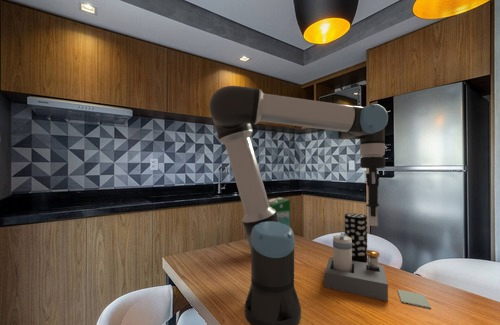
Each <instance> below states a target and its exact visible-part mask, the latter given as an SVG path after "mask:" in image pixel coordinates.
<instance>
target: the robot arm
mask: <svg viewBox="0 0 500 325" xmlns="http://www.w3.org/2000/svg"><path fill="white" fill-rule="evenodd" d="M208 104H209V105H208V107H209V114H210V116H211V120H212V122H213V125H214V129H215V132H216V135H217V138H218V141H219V142H221V143H222V144H224V146H225V150H226V153H227V155H228V160H229V163H230V166H231V167H230V168H231V170H232V174H233V176H234V179H235V183H236V187H237V189H238V194H239V197H240V200H241V205H242V207H243V211H244V216H243V218H242V219H241V220H242V224H243V228H244V231H245V235H246V239H247V242H248V245H249V250H250V259H251V260H250V261H251V263H250V265H251V266H250V268H251V270H250V273H251V274H250V275H251V276H250V278H251V279H250V282H251V283H250V286H249V290H248V293H247V296H246V299H245V303H244V316H245V318H246V321H247V322H248V323H249V324H250V325H299V324H300V322H301V319H302V308H301V304H300V300H299V297H298V294H297V290H296V288H295V245H296V242H295V234H294V231H293V229H292V228H291V226H290V227H289V226H287V225H286V224H282V223H280V222H279V220H278V216H277V213H276V210H275V209H273V208H271V207H270V205H269V202H268V201H269V199H268V196H267V191H266V189H265V185H264V182H263V178H262V175H261V171H260V168H259V163H258V160H257V157H256V153H255V150H254V147H253V143H252V141H251V140H252V139H251V136H252V134H253V130H254V129H253V126H252V125H257V124H258V123H260V122H262V123H273V124H278V125H279V124H280V125H286V126H287V125H288V126H296V127H302V128H312V129H320V130H325V135H326V137H327V138H328V139H329V140H336V141H338V140H359V155H360V161H359V163H360V165H359V166H360V169H368V173H365V178H366V185H367V194H368V195H367V197H368V200H367V202H368V203H367V204H366V207H367V209H368V212H367V215H368V216H367V218H368V226H372V227H379V223H378V220H379V218H378V209H379V208H378V207H380V204H379V202H378V201H379V200H378V198H379V196H378V194H379V192H378V191H379V186H380V185H379V184H380V183H379V182H380V173H378V170H377V169H385V167H386V158H385V157H384V155H385V154H386V153H385V150H387V149H388V147H387V146H386V145H385V144H386V142H385V140H386V139H385V138H386V137H385V136H386V135H385V132H386V129H385V128H386V127H387V125H388V121H389V114H388V112H387V110H386V108H385V107H384V106H382V105H380V104H376V103H374V104H373V103H372V104H369V105H365V106H357V105H348V104H341V103H334V102H327V101H319V100H314V99H313V100H312V99H306V98H298V97H292V96H291V97H290V96H284V95H279V94H269V93H264V92H263V90H262V89H261V88H257V87H256V88H255V87H250V86H249V87H248V86H240V85H227V86H223V87H220V88H218V89H217V90H216V91H215V92H213V94H212V95H211V97H210V100H209V103H208Z"/></svg>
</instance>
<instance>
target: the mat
mask: <svg viewBox="0 0 500 325" xmlns="http://www.w3.org/2000/svg"><path fill="white" fill-rule="evenodd" d="M397 292H398V295H399V299H400V303H402V302H403V303H402V304H406V303H408V304H407V305H411V304H412V306H416V307H420V306H421V308H425V307H426V309H430V310H431V308H432V307H431V305H430V302H429V301H428V299H427V297H426V295H425V294H424V293H423V294H422V293H417V292H413V291H408V290H402V289H397Z"/></svg>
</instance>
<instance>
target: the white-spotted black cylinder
mask: <svg viewBox="0 0 500 325" xmlns="http://www.w3.org/2000/svg"><path fill="white" fill-rule="evenodd" d="M344 233H345V236H348V237H350V238H352V261H358V262H364V263H368V256H367V255H366V251H367V250H368V216H367V215H366V214H361V213H355V212H354V213H351V212H349V213H344Z"/></svg>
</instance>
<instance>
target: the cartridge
mask: <svg viewBox="0 0 500 325" xmlns="http://www.w3.org/2000/svg"><path fill="white" fill-rule="evenodd" d="M332 257H333V270H339V271H344V272H350V273H352V238H350V237H348V236H345V232H344V233H343V232H340V234H336V235H334V236H332Z"/></svg>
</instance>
